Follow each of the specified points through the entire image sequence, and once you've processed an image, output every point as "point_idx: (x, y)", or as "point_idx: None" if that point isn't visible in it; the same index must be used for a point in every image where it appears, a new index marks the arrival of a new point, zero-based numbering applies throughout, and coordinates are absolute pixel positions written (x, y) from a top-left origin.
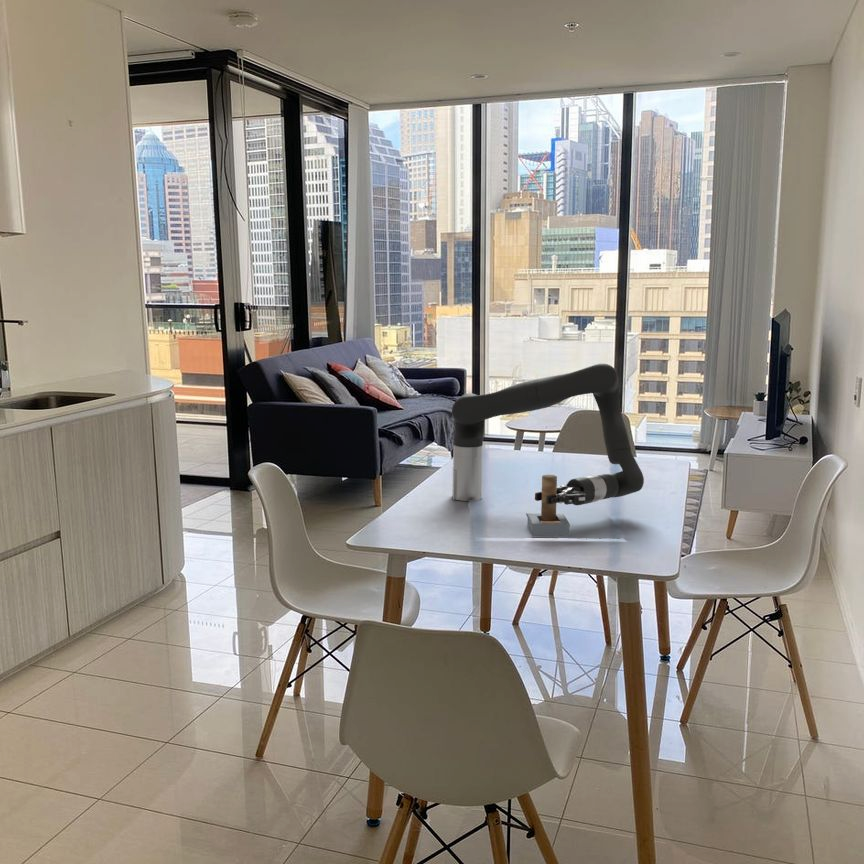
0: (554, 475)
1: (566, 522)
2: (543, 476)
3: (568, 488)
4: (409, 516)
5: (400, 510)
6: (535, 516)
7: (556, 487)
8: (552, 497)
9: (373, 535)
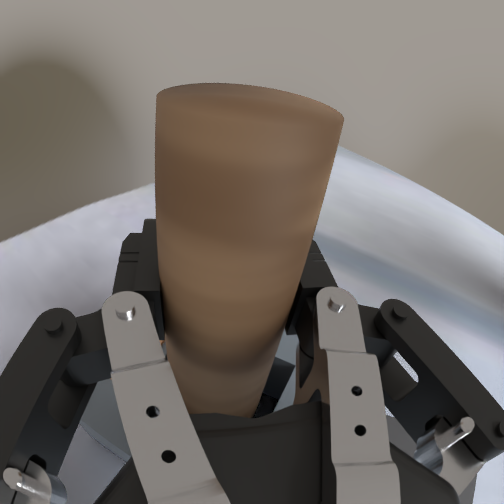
0: (272, 121)
1: (91, 410)
2: (278, 92)
3: (204, 489)
4: (453, 219)
5: (485, 228)
6: (284, 352)
7: (167, 237)
8: (137, 247)
9: (343, 154)
